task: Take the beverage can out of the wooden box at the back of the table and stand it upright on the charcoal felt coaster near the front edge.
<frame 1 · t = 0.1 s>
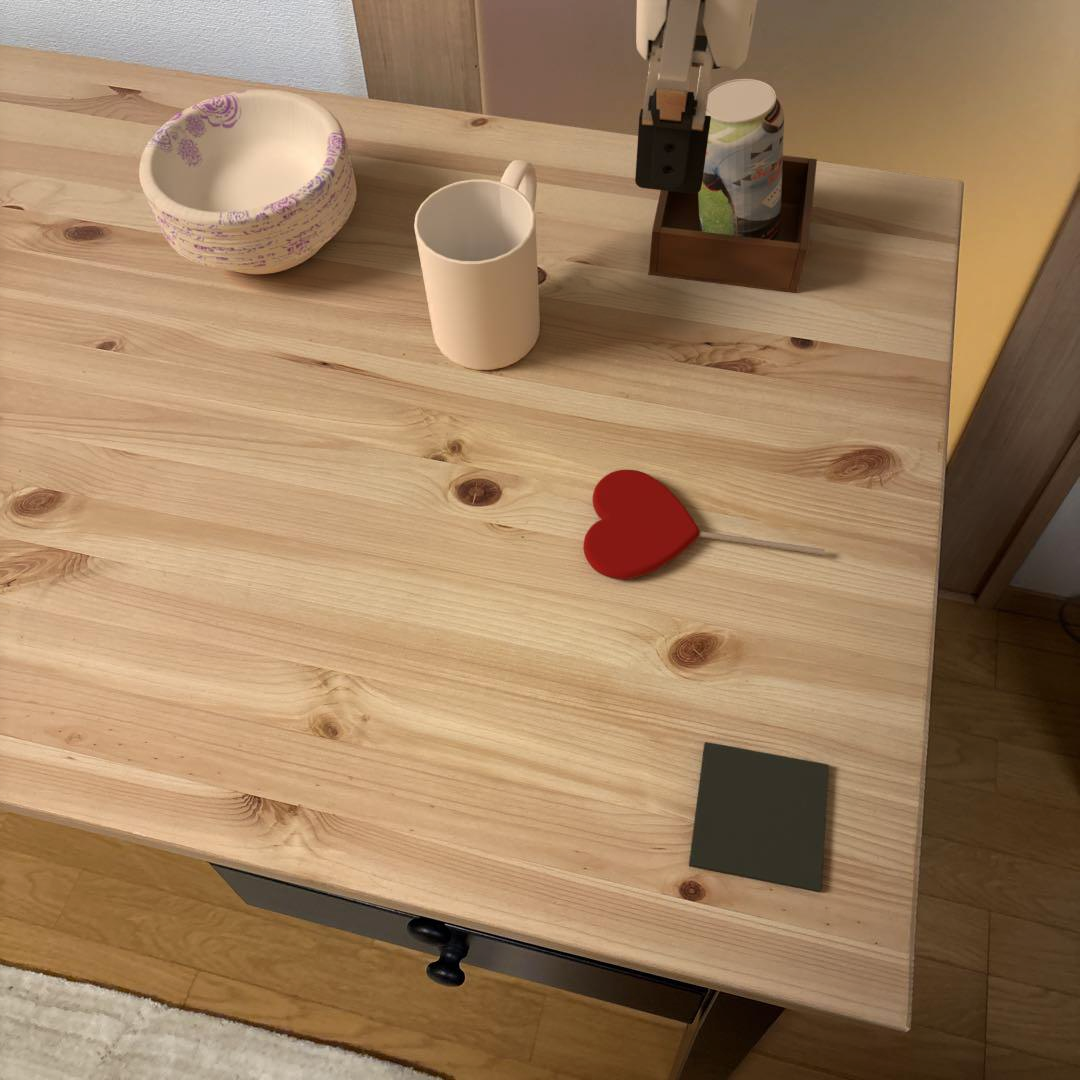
hand: (681, 122, 51), 22 cm above the table, tool pointing down, fingers open, 9 cm apart
beverage can: (728, 237, 78), resting on wooden box
lollipop: (703, 539, 64), on the table
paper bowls: (269, 234, 80), on the table
coaster: (759, 815, 55), on the table
mug: (499, 312, 75), on the table
wooden box: (728, 238, 78), on the table
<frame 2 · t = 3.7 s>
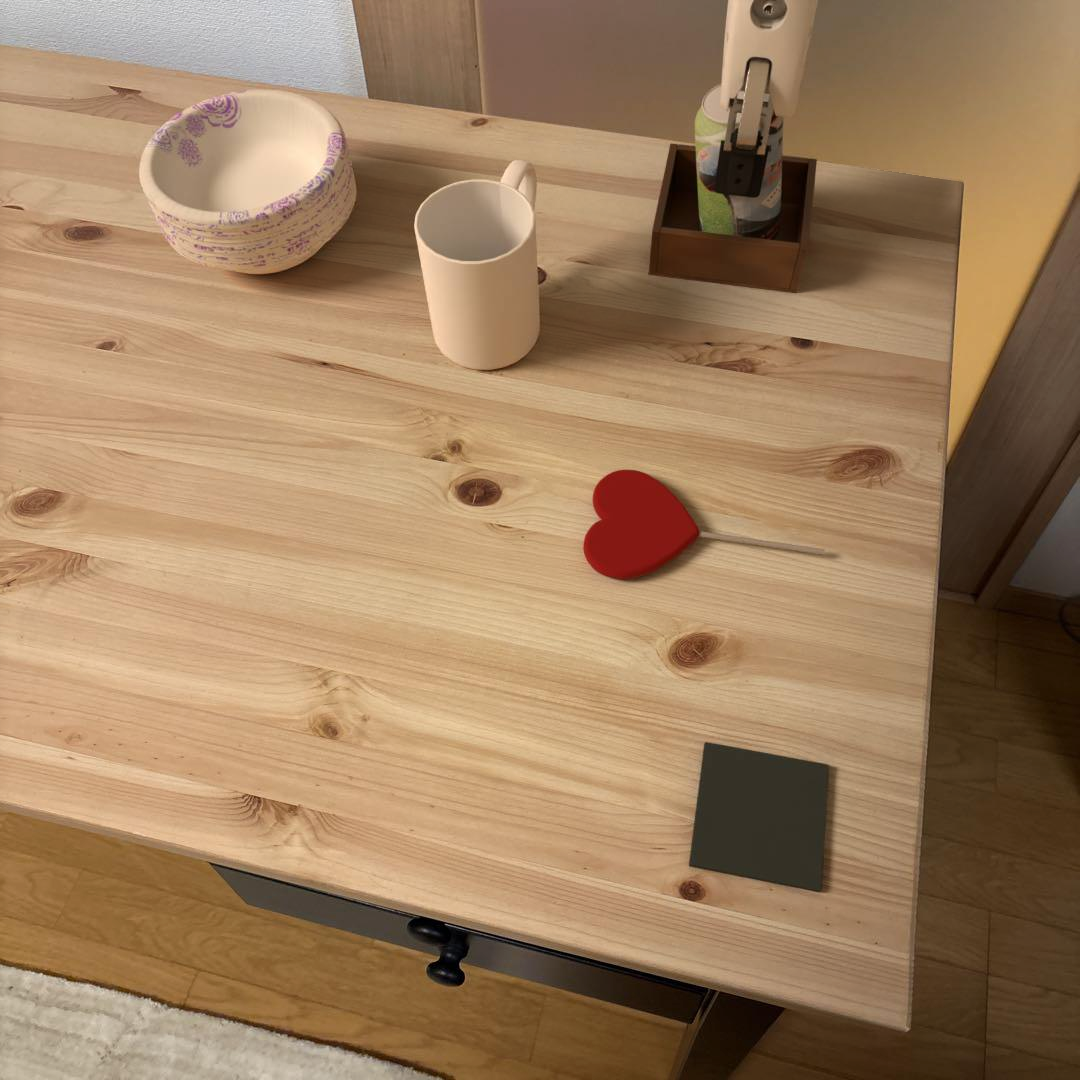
hand: (741, 158, 72), 7 cm above the table, tool pointing down, fingers closed on beverage can, 6 cm apart
beverage can: (729, 236, 78), resting on wooden box, touching gripper
everything else where it was.
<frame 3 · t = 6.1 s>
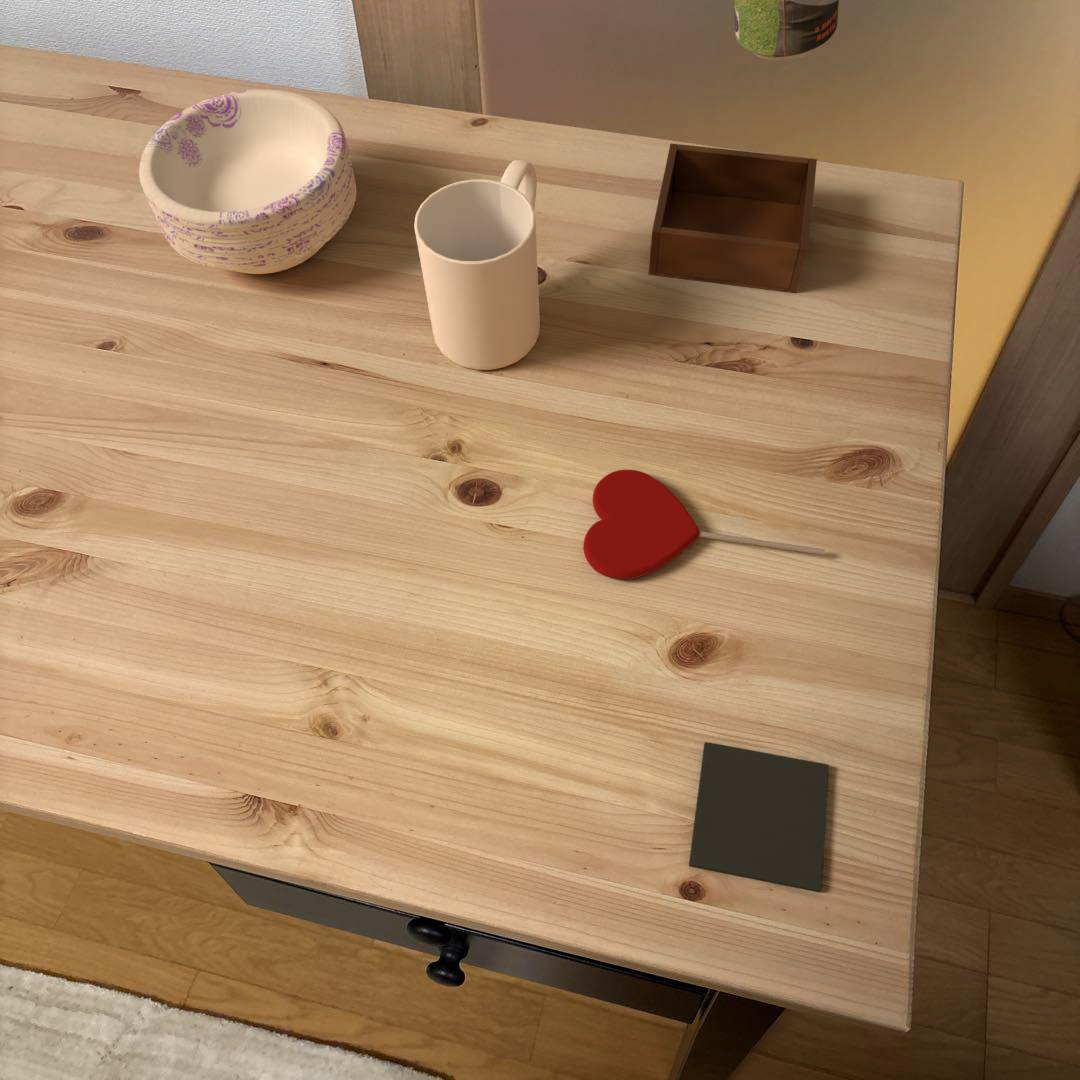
beverage can: (771, 44, 62), point 17 cm above the table, touching gripper
everything else where it was.
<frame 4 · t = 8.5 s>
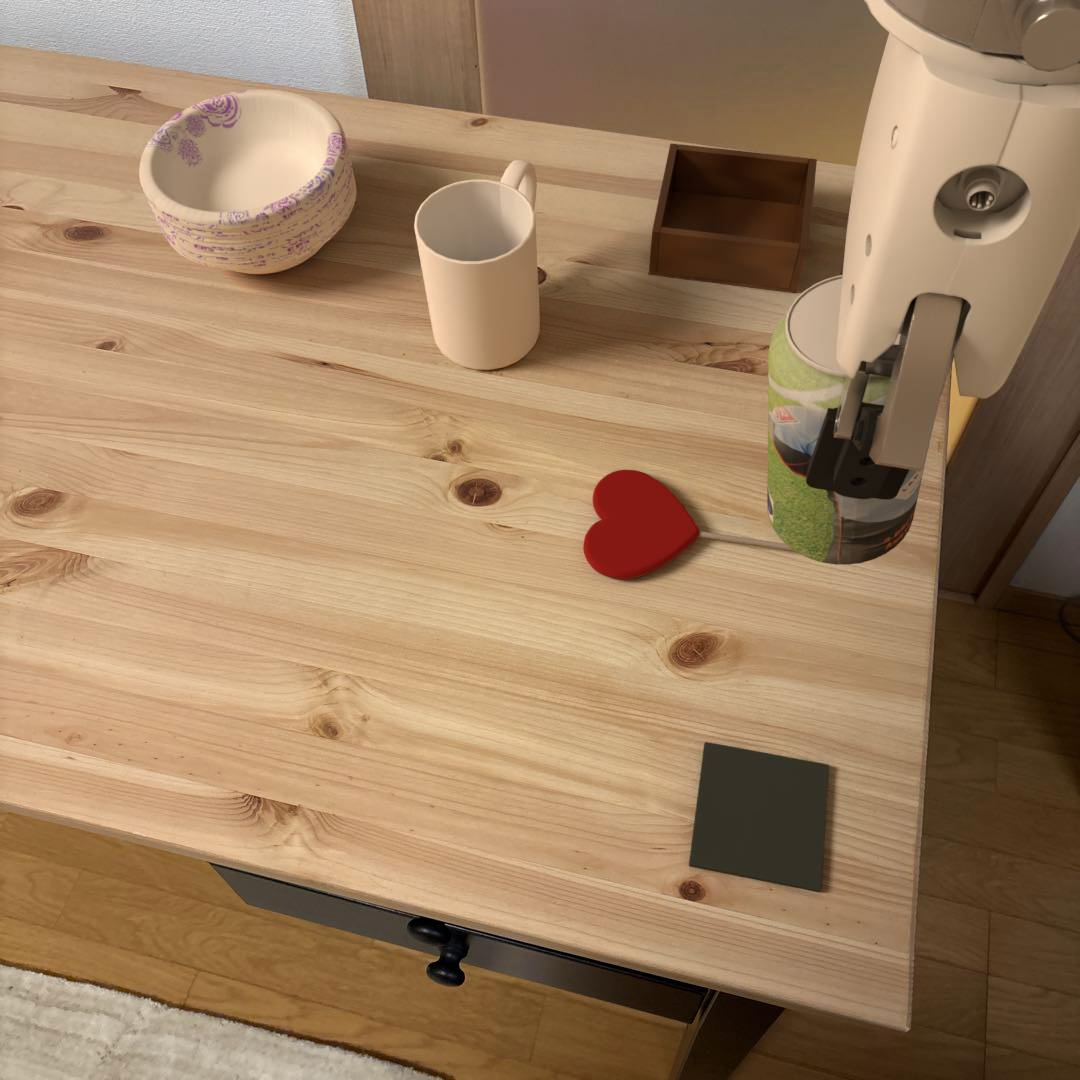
hand: (856, 411, 38), 25 cm above the table, tool pointing down, fingers closed on beverage can, 6 cm apart
beverage can: (818, 513, 44), point 18 cm above the table, touching gripper
everything else where it was.
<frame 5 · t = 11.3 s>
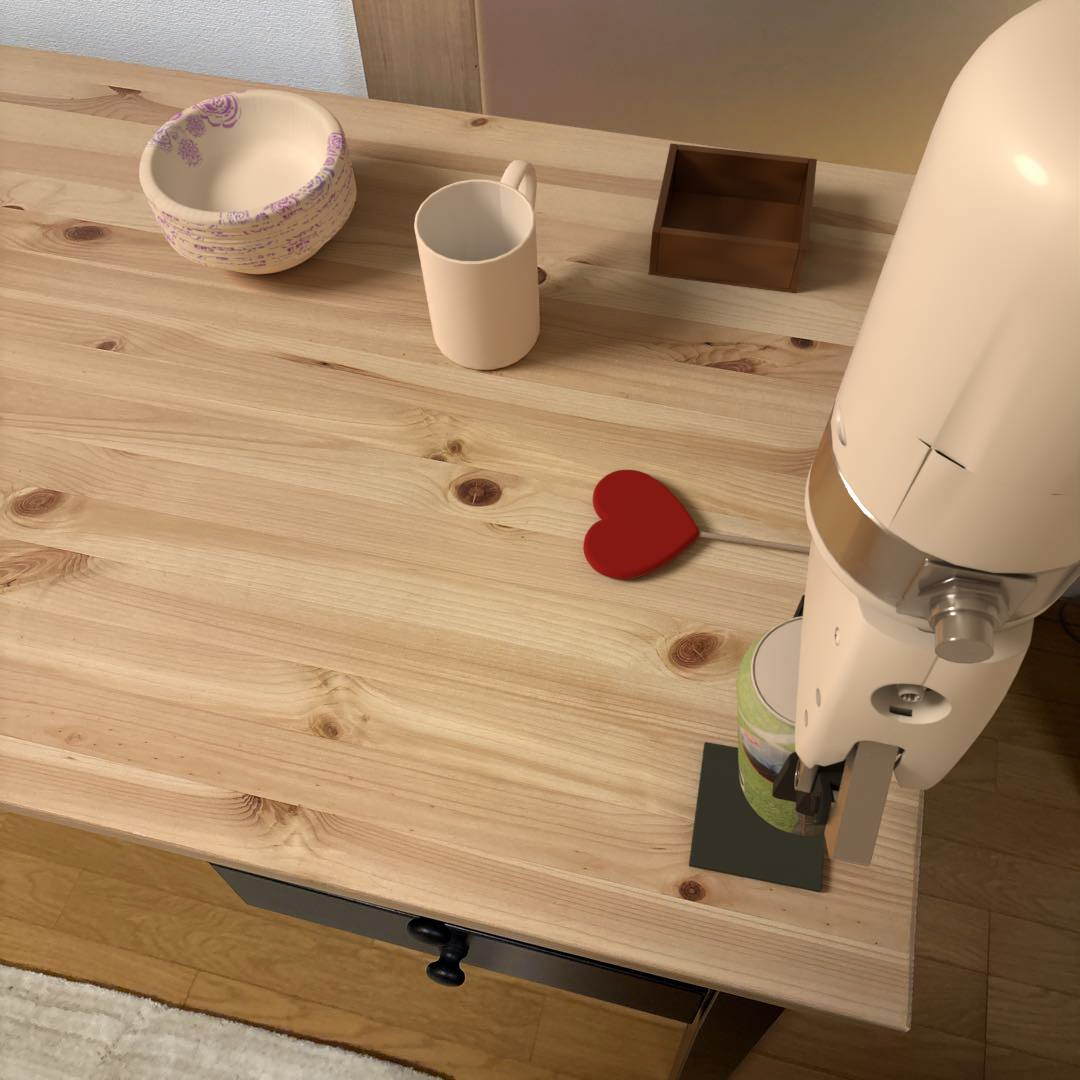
hand: (817, 718, 42), 15 cm above the table, tool pointing down, fingers closed on beverage can, 6 cm apart
beverage can: (785, 772, 48), point 8 cm above the table, touching gripper
everything else where it was.
when the fingers open (7 cm above the table, at t = 13.6 s): beverage can stays where it is, resting on coaster.
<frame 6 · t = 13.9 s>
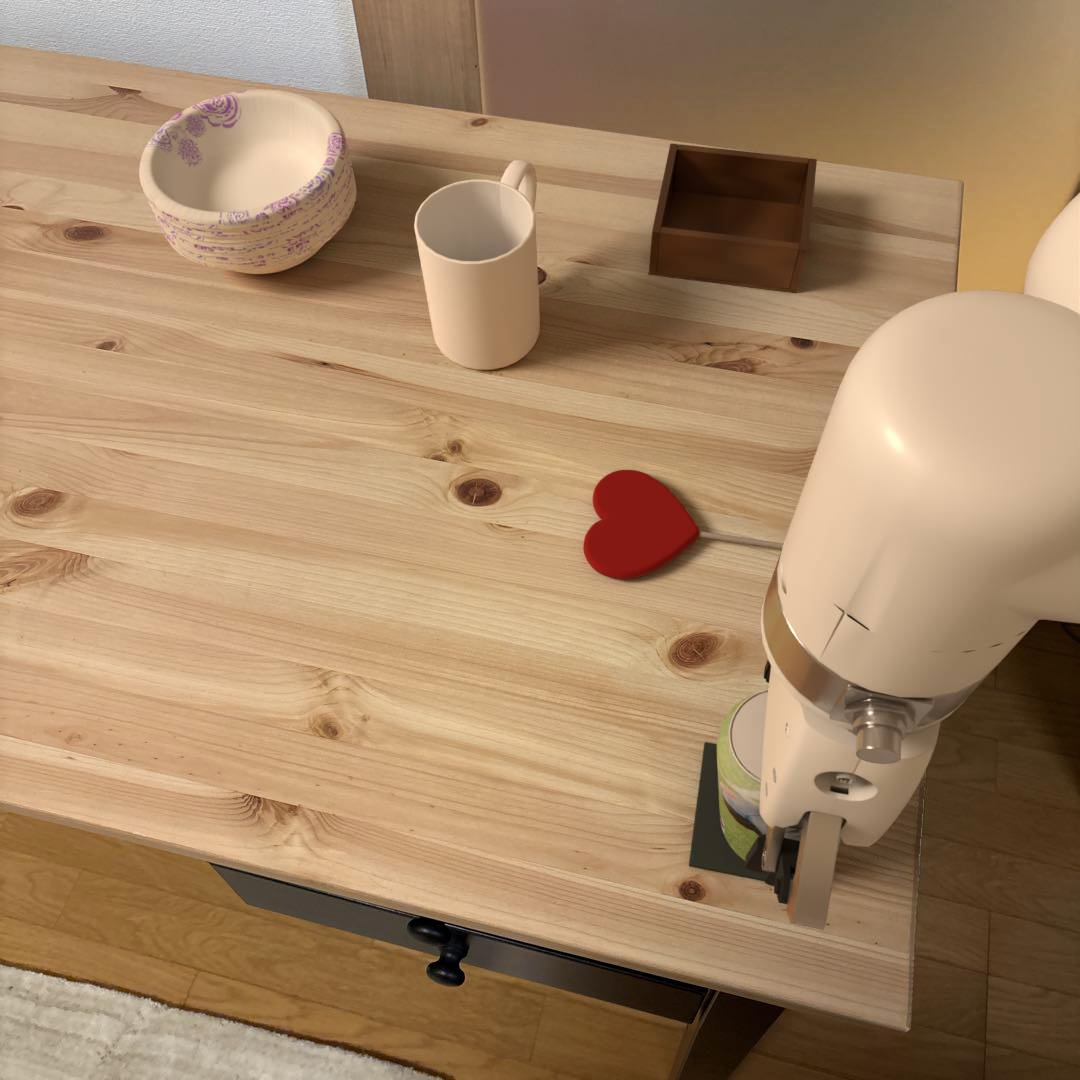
hand: (787, 770, 48), 8 cm above the table, tool pointing down, fingers open, 9 cm apart
beverage can: (760, 816, 55), resting on coaster
everything else where it was.
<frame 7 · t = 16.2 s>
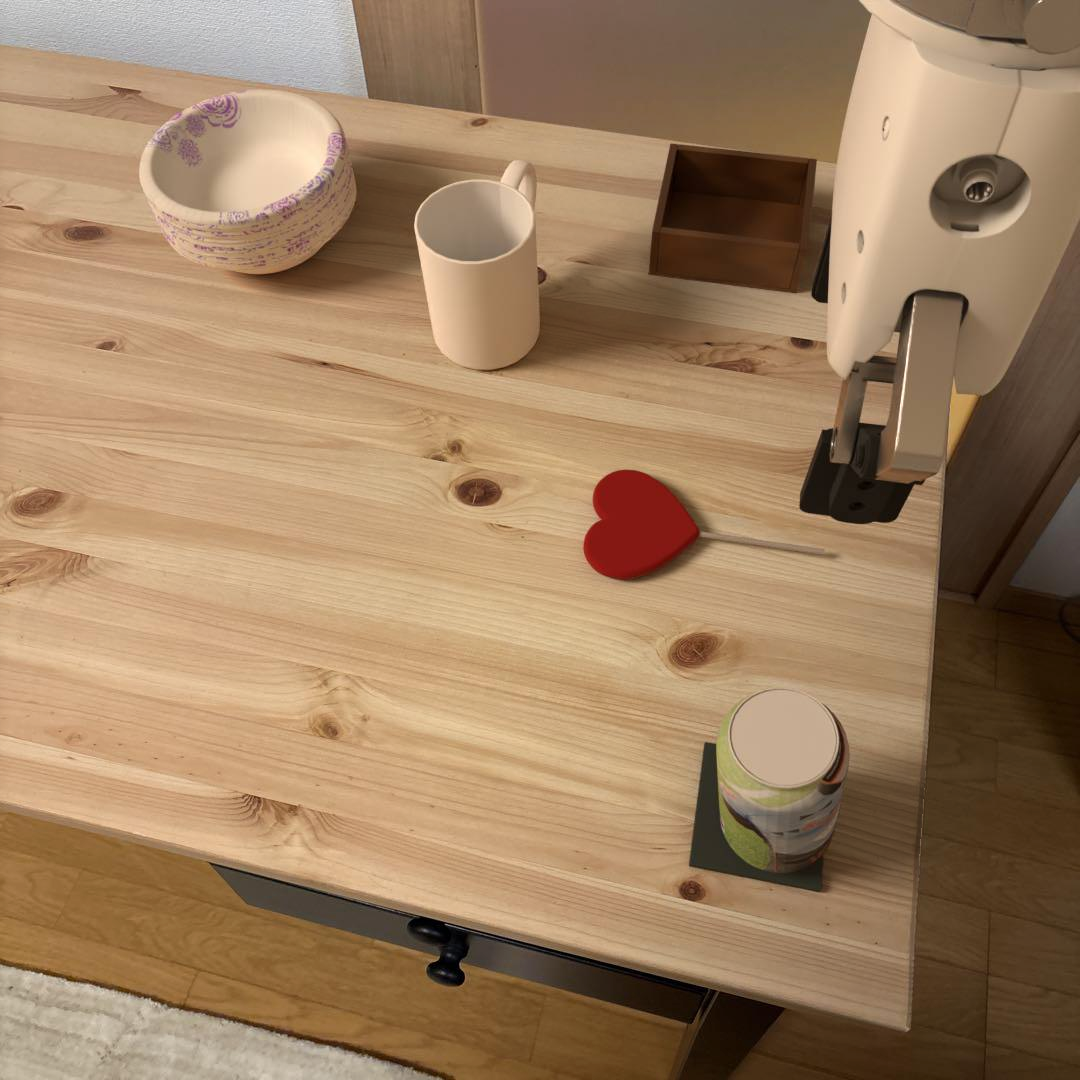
hand: (848, 398, 36), 27 cm above the table, tool pointing down, fingers open, 9 cm apart
nothing on the table moved.
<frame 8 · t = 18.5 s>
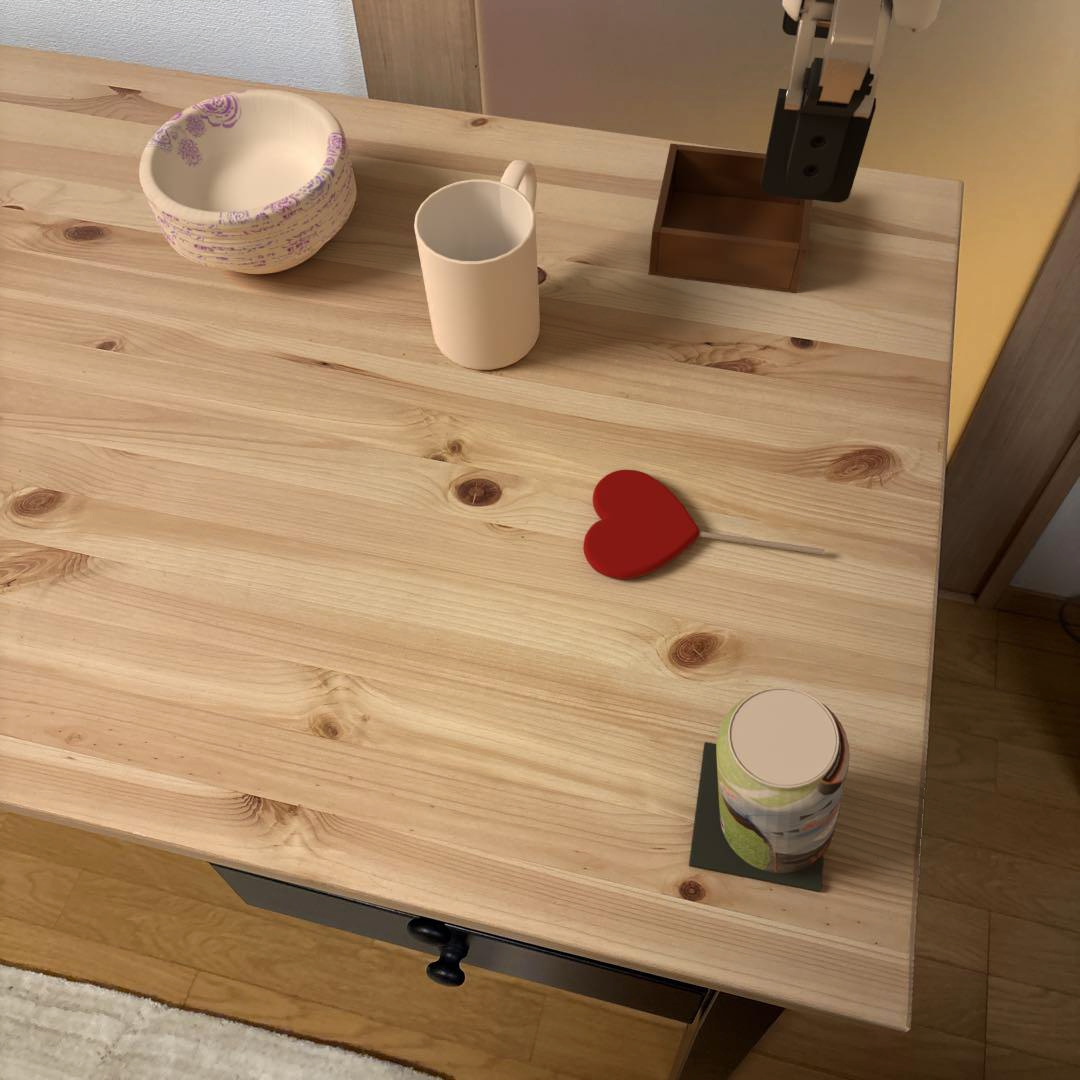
hand: (812, 109, 39), 30 cm above the table, tool pointing down, fingers open, 9 cm apart
nothing on the table moved.
at the end: beverage can 0.1 cm off-centre on the coaster, point 0.2 cm above the coaster's base; beverage can tilted 0°; beverage can touching coaster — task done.
